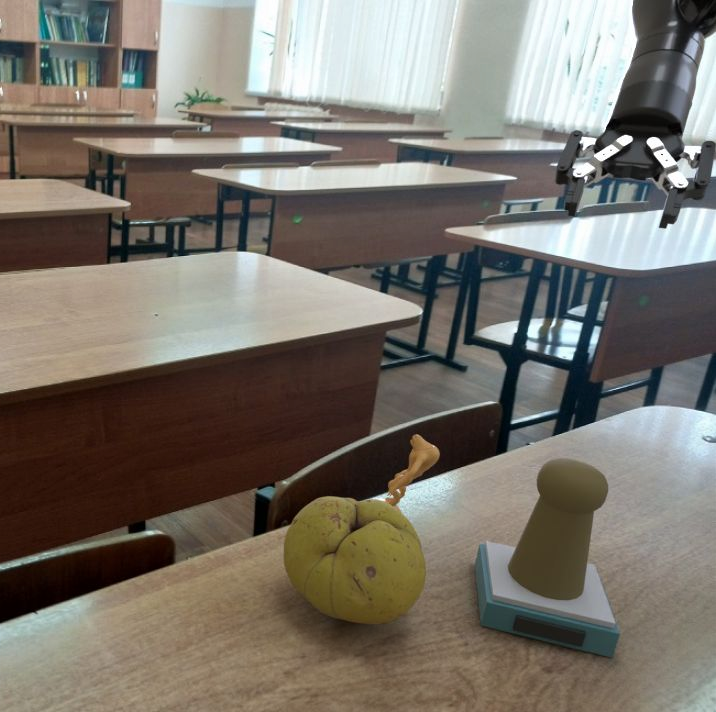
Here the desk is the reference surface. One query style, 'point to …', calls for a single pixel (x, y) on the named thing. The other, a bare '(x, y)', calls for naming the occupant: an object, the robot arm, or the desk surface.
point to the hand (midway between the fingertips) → (617, 217)
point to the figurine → (412, 469)
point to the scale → (543, 607)
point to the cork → (559, 530)
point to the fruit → (355, 559)
